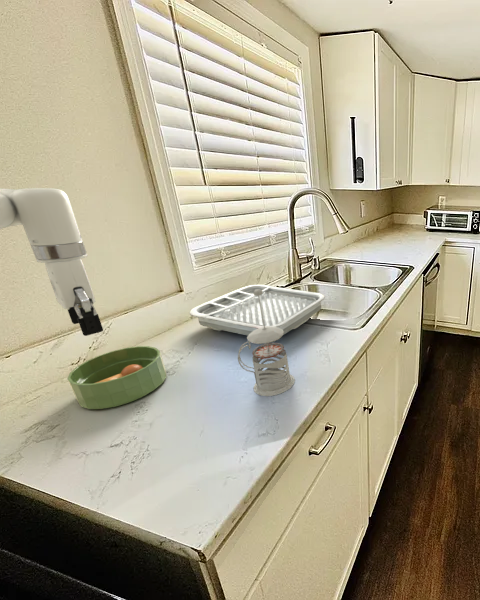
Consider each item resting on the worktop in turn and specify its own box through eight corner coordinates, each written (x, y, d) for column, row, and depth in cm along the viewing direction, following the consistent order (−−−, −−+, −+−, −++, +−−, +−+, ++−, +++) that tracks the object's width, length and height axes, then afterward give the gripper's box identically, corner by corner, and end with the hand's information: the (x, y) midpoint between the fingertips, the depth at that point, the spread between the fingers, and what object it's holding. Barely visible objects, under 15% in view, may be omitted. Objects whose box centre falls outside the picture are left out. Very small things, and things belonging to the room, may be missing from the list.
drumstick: (90, 406, 74) (83, 390, 71) (83, 396, 76) (76, 379, 74) (150, 381, 82) (146, 366, 80) (143, 373, 85) (138, 358, 83)
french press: (296, 390, 78) (281, 293, 70) (243, 402, 75) (221, 300, 66) (293, 369, 87) (280, 280, 78) (246, 378, 83) (226, 286, 74)
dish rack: (276, 352, 96) (272, 328, 93) (186, 333, 108) (180, 311, 105) (332, 312, 123) (330, 292, 120) (256, 301, 135) (252, 282, 132)
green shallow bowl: (89, 422, 69) (77, 394, 67) (71, 392, 79) (60, 367, 76) (178, 383, 82) (170, 359, 79) (153, 362, 91) (145, 340, 89)
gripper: (27, 249, 69) (56, 323, 75) (42, 261, 59) (74, 345, 65) (75, 244, 74) (98, 313, 80) (96, 254, 65) (121, 332, 70)
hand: (87, 327), depth 72 cm, fingers open, 9 cm apart
